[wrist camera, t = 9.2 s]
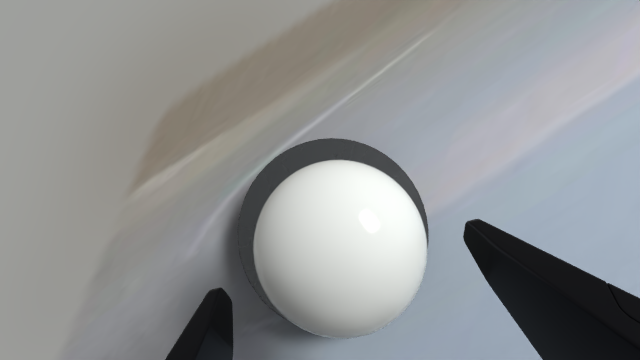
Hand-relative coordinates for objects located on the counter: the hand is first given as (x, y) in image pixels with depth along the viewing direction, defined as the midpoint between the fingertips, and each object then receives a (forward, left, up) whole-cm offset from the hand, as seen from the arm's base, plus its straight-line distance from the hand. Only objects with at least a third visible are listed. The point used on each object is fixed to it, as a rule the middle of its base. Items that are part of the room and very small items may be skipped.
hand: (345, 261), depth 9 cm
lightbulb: (0, +1, -9) cm, 9 cm away
